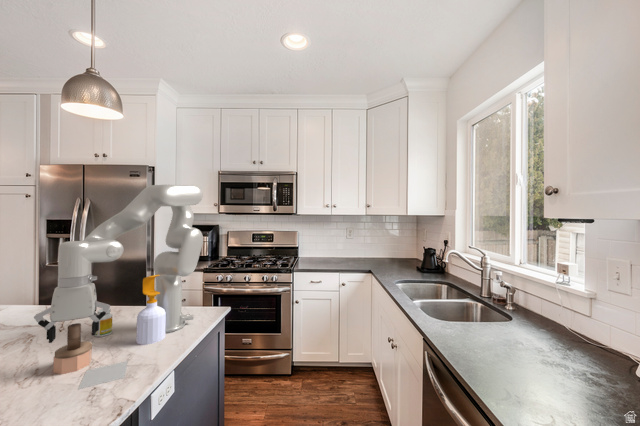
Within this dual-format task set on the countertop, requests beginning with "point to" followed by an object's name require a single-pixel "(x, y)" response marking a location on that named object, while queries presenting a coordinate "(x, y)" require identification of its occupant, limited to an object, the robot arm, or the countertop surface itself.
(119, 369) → the mat
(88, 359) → the octagonal peach pot
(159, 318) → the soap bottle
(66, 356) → the lid
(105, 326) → the supplement bottle
